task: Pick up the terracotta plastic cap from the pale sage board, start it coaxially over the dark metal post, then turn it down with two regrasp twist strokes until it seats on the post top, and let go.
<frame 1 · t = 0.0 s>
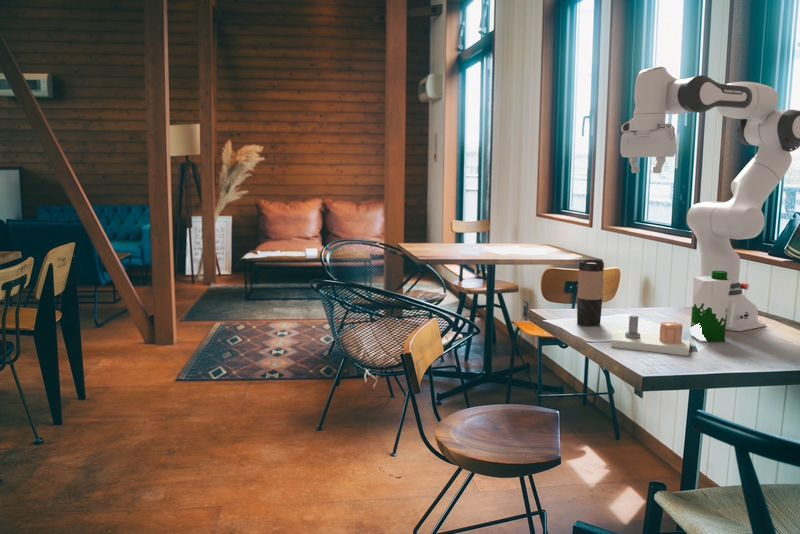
hand: (645, 173, 198), 48 cm above the table, fingers open, 8 cm apart
post board: (650, 345, 191), on the table
milk carton: (707, 339, 199), on the table
cap: (670, 341, 188), point 2 cm above the table, touching post board
travel mug: (588, 324, 216), on the table
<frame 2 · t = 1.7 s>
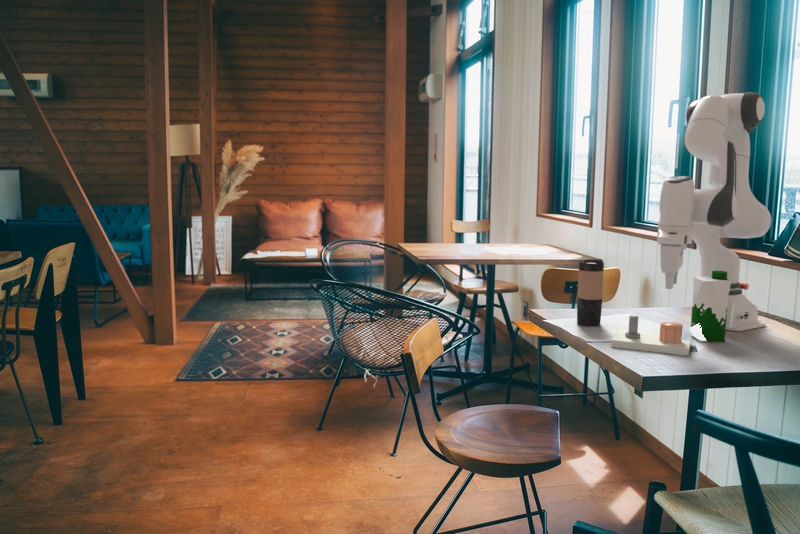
hand: (671, 286, 186), 17 cm above the table, fingers open, 8 cm apart
nothing on the table moved.
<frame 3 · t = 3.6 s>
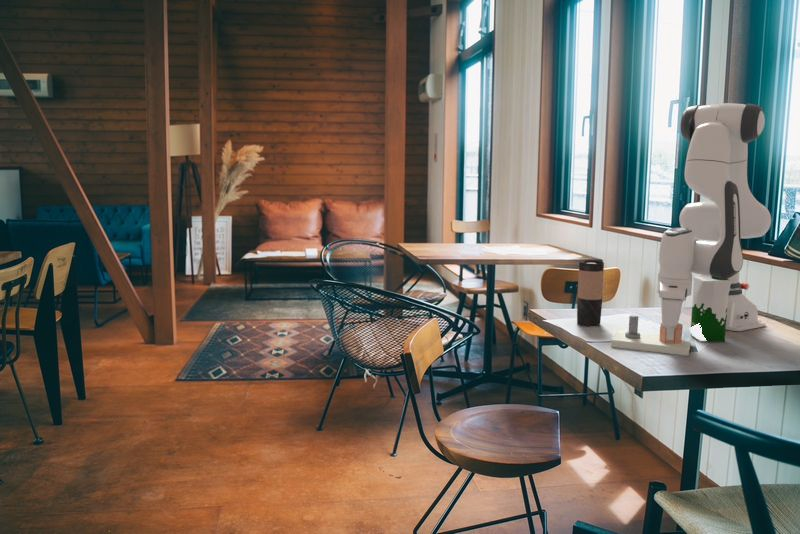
hand: (670, 336, 188), 3 cm above the table, fingers closed on cap, 6 cm apart
cap: (670, 341, 188), point 2 cm above the table, touching gripper, post board
everything else where it was.
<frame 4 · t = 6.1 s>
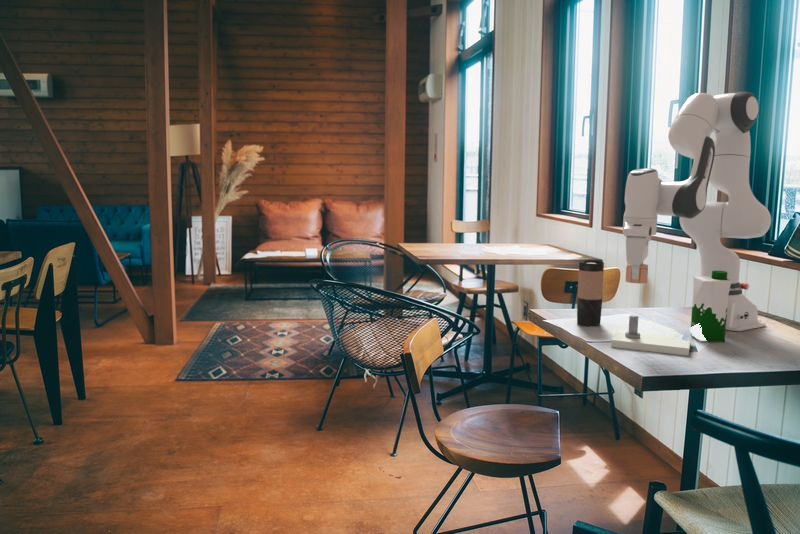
hand: (636, 277, 190), 19 cm above the table, fingers closed on cap, 6 cm apart
cap: (636, 281, 190), point 18 cm above the table, touching gripper
everything else where it was.
when the fingers open (6 cm above the table, at t = 8.9 s): cap stays where it is, resting on post board.
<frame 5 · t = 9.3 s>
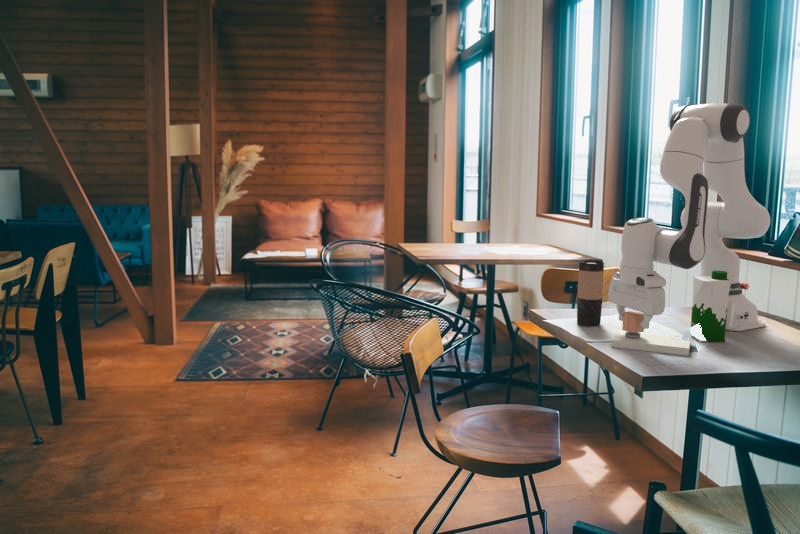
hand: (633, 324, 192), 6 cm above the table, fingers open, 8 cm apart
cap: (633, 330, 192), point 4 cm above the table, touching post board
everything else where it was.
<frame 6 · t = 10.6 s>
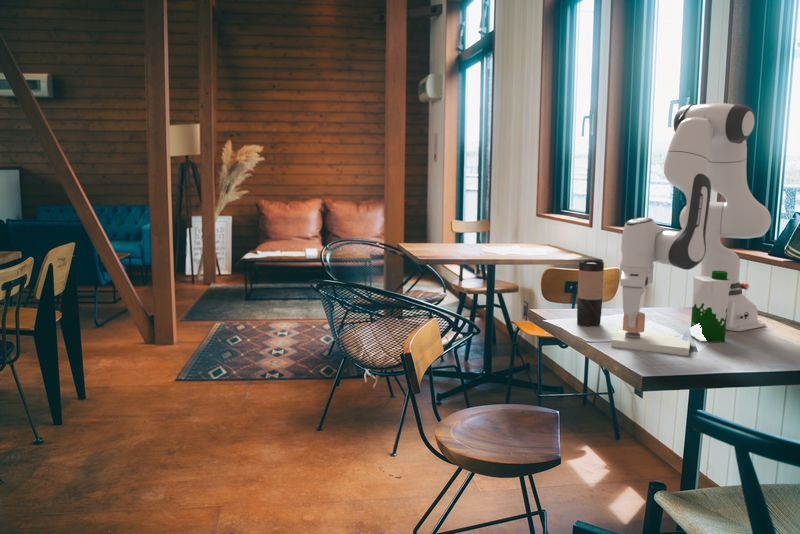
hand: (633, 324, 192), 6 cm above the table, fingers closed on cap, 6 cm apart
cap: (633, 330, 192), point 4 cm above the table, touching gripper, post board
everything else where it was.
when the fingers open (5 cm above the table, at t = 11.7 s): cap stays where it is, resting on post board.
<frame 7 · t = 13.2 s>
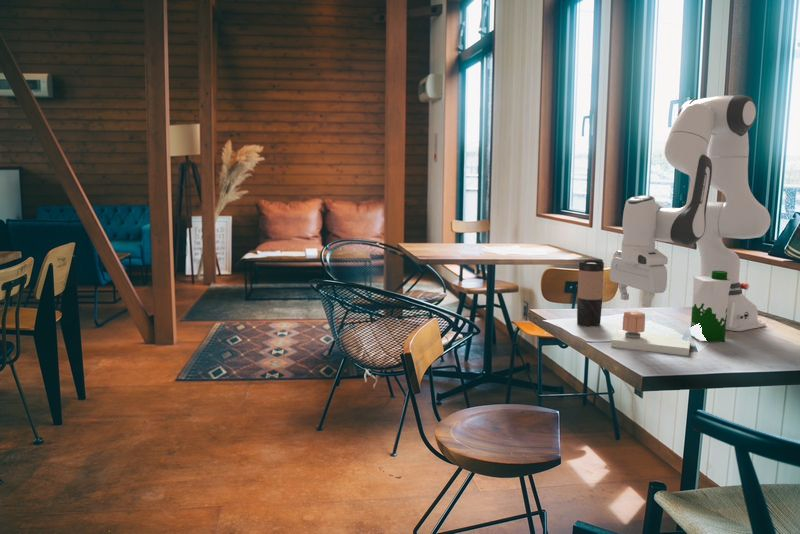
hand: (635, 302, 191), 12 cm above the table, fingers open, 8 cm apart
cap: (633, 330, 192), point 4 cm above the table, touching post board
everything else where it was.
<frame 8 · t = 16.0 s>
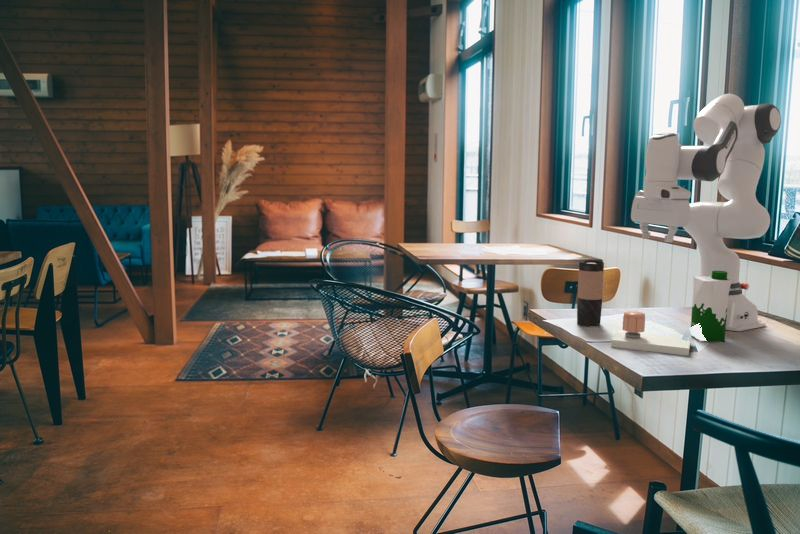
hand: (657, 240, 193), 29 cm above the table, fingers open, 8 cm apart
nothing on the table moved.
at the end: cap 0.2 cm from the target spot on the post board, point 4.0 cm above the post board's base; cap tilted 0°; the gripper is holding nothing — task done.
